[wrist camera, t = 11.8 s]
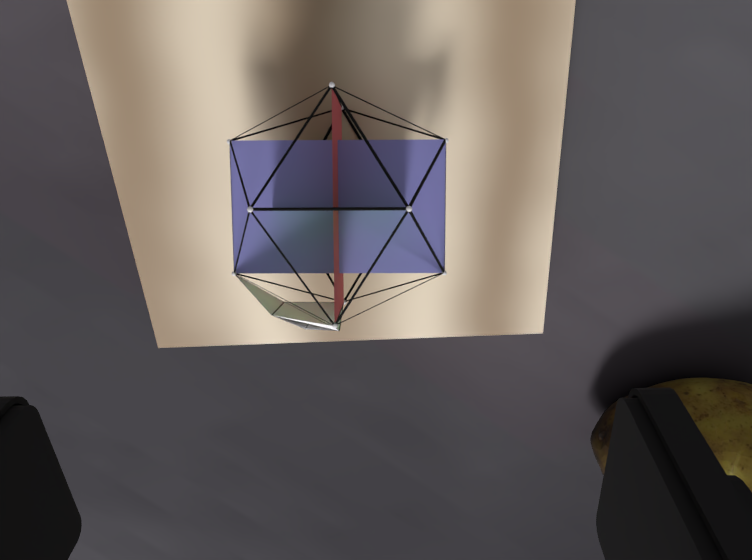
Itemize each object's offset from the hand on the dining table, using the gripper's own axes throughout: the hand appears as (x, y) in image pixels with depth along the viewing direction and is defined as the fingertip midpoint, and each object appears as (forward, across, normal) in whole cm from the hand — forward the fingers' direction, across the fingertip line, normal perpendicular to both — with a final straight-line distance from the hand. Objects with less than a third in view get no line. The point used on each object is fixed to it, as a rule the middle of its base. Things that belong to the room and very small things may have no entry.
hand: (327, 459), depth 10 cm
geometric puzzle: (+14, +1, 0) cm, 14 cm away
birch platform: (+17, +1, 0) cm, 17 cm away
